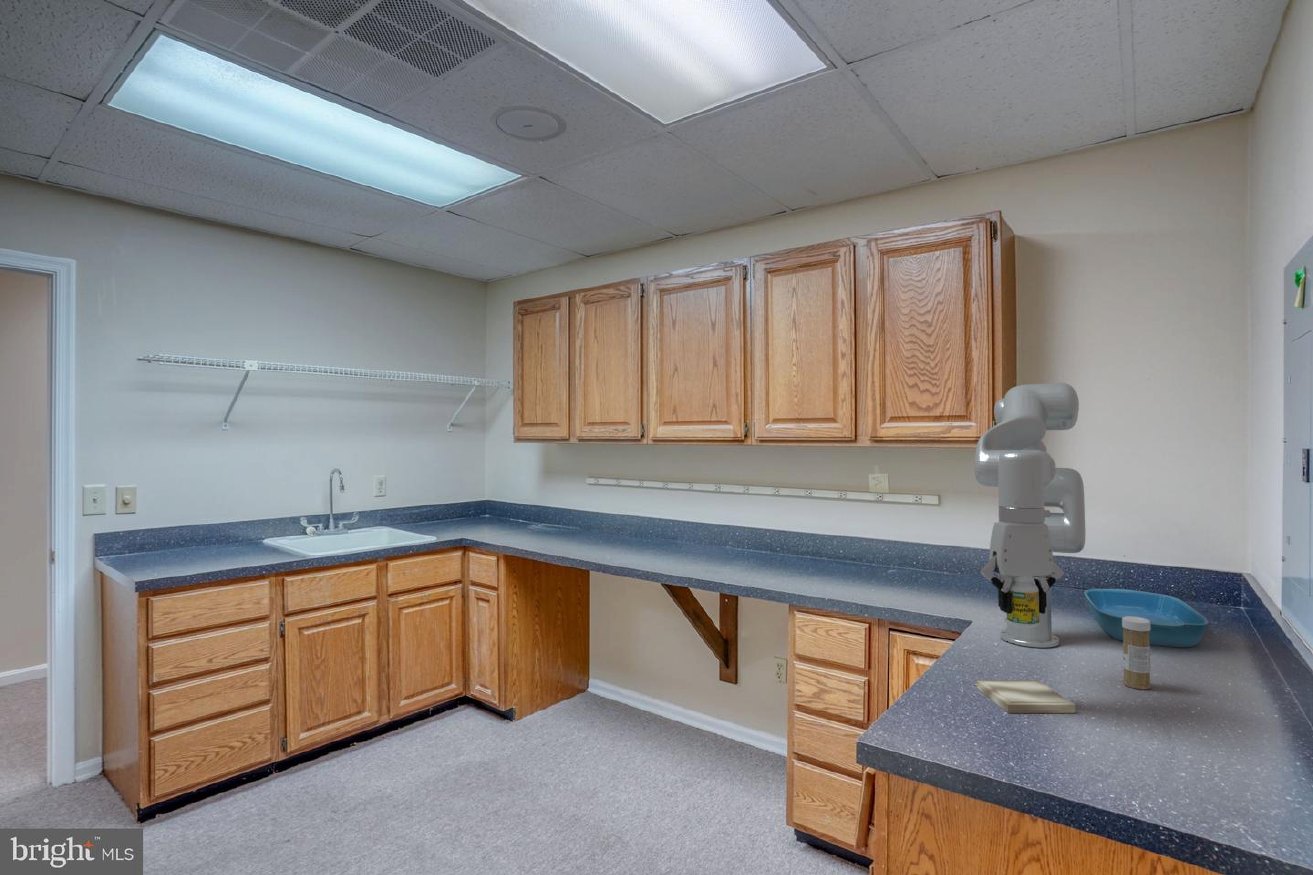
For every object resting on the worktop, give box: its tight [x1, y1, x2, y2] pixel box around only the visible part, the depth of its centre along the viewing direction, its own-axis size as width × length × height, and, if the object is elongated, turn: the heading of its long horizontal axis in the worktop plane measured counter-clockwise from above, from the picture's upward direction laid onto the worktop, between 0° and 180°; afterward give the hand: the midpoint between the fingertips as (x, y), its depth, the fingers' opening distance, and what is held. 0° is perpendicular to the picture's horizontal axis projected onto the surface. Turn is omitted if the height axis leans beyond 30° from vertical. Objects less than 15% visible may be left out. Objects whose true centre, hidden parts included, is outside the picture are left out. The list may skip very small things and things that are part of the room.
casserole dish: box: [1084, 588, 1209, 648], centre depth 168 cm, size 37×22×7 cm, turn 156°
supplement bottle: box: [1006, 575, 1039, 628], centre depth 123 cm, size 6×5×10 cm
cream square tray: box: [976, 679, 1076, 714], centre depth 123 cm, size 12×12×2 cm
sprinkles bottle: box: [1122, 616, 1152, 690], centre depth 130 cm, size 5×5×14 cm
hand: (1022, 610), depth 123 cm, fingers closed on supplement bottle, 5 cm apart
